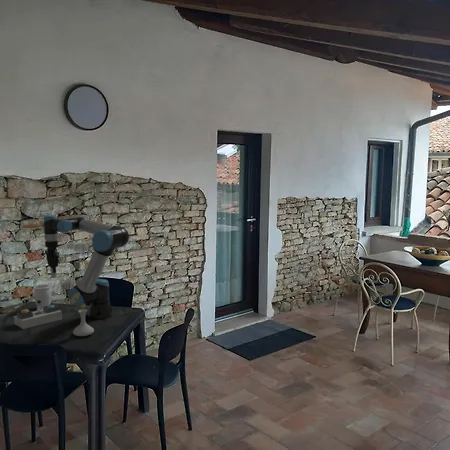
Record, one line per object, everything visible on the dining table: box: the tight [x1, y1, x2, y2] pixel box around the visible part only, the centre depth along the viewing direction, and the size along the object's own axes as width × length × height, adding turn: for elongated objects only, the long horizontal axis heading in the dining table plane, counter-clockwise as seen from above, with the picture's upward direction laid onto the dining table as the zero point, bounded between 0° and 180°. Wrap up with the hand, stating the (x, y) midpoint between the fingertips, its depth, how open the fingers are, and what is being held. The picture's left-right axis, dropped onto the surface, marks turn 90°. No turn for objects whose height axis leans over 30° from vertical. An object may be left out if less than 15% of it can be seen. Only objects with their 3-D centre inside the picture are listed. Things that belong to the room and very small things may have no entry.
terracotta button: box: [20, 308, 30, 315], centre depth 279 cm, size 4×4×2 cm
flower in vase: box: [68, 292, 95, 337], centre depth 262 cm, size 13×11×25 cm
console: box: [13, 304, 63, 330], centre depth 285 cm, size 12×24×8 cm, turn 136°
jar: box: [33, 284, 52, 310], centre depth 310 cm, size 11×10×15 cm
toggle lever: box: [36, 300, 41, 312], centre depth 283 cm, size 2×2×8 cm
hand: (53, 277), depth 295 cm, fingers closed
